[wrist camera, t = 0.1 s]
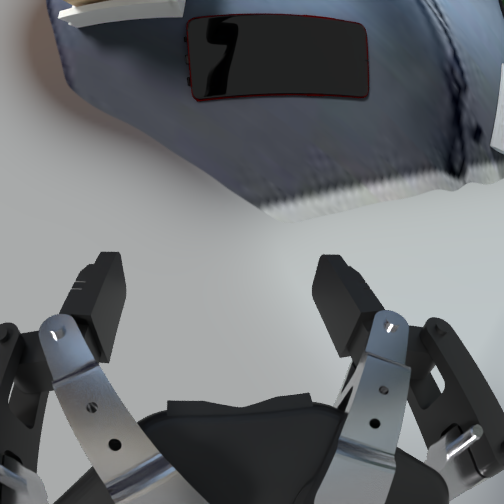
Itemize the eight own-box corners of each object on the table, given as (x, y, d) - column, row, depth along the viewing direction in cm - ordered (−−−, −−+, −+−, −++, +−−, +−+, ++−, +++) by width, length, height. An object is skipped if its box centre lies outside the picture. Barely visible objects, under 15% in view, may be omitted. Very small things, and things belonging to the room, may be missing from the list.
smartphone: (182, 17, 25) (366, 23, 27) (183, 20, 27) (361, 24, 29) (189, 103, 32) (370, 99, 34) (190, 102, 33) (365, 99, 35)
